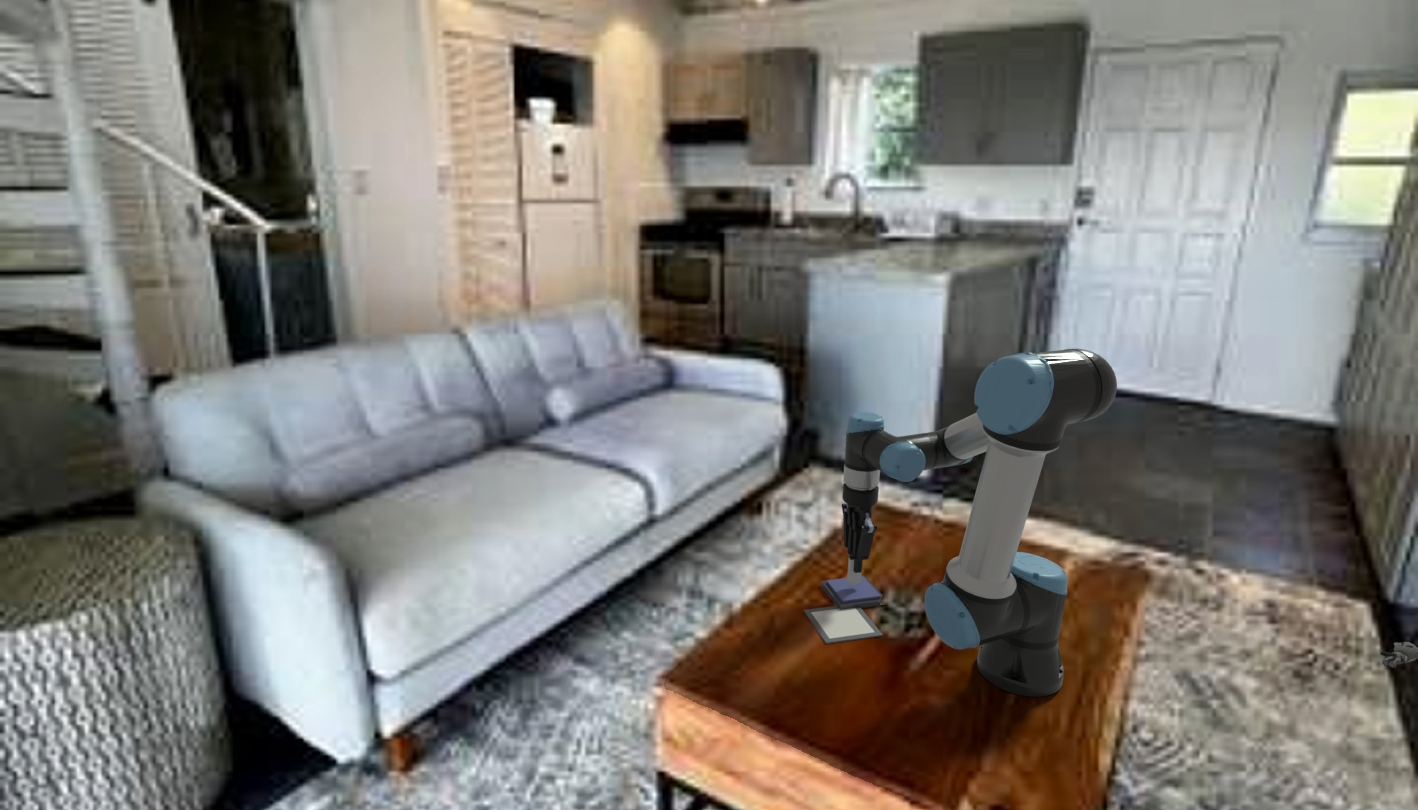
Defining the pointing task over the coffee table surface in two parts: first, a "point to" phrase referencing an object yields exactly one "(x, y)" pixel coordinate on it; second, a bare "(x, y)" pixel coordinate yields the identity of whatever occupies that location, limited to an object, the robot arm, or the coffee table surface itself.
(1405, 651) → the grey lumpy piece
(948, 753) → the coffee table surface
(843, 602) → the ink pad
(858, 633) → the grey picture frame
